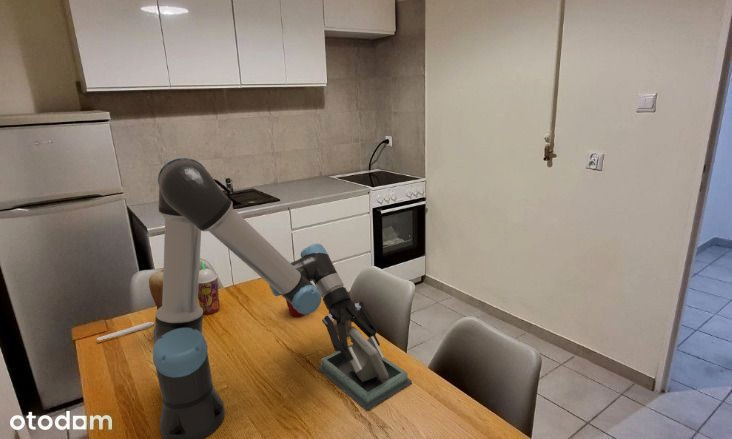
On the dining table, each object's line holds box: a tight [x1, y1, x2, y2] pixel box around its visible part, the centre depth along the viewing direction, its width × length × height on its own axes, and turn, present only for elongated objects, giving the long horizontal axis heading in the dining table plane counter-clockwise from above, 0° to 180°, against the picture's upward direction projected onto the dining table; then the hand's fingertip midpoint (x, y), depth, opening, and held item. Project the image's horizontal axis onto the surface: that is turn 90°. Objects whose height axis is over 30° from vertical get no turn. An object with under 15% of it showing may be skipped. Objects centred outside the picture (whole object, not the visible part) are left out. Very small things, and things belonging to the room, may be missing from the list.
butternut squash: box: [148, 268, 163, 311], centre depth 143 cm, size 14×13×25 cm
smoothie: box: [198, 261, 220, 315], centre depth 160 cm, size 8×8×20 cm
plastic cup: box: [285, 299, 306, 318], centre depth 157 cm, size 11×11×12 cm
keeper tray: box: [317, 343, 413, 412], centre depth 121 cm, size 16×23×4 cm
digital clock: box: [347, 325, 389, 382], centre depth 120 cm, size 16×9×11 cm, turn 16°
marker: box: [96, 321, 155, 341], centre depth 149 cm, size 18×2×2 cm, turn 127°
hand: (370, 364), depth 117 cm, fingers closed on digital clock, 7 cm apart
